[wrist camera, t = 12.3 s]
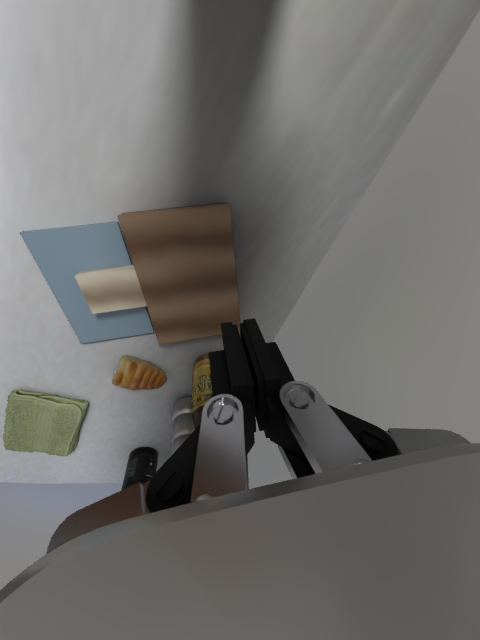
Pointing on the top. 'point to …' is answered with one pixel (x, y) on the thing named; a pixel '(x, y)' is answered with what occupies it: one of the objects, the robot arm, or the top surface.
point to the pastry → (137, 374)
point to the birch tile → (111, 289)
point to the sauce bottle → (200, 388)
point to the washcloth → (42, 422)
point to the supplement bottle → (140, 466)
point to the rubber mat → (81, 255)
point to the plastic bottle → (181, 422)
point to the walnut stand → (185, 268)
